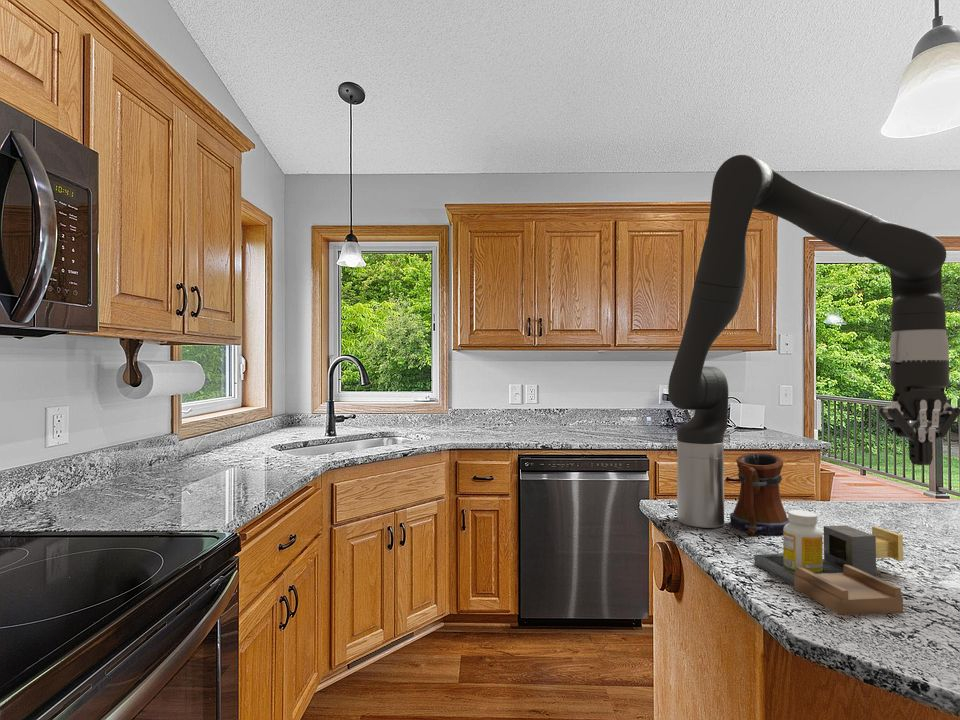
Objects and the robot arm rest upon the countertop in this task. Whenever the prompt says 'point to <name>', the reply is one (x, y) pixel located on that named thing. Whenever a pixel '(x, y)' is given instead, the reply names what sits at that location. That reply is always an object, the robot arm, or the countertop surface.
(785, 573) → the socket collar
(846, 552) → the block
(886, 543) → the tan boxy piece
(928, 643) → the countertop surface
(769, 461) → the mug
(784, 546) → the supplement bottle
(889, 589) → the wooden tray
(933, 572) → the countertop surface
